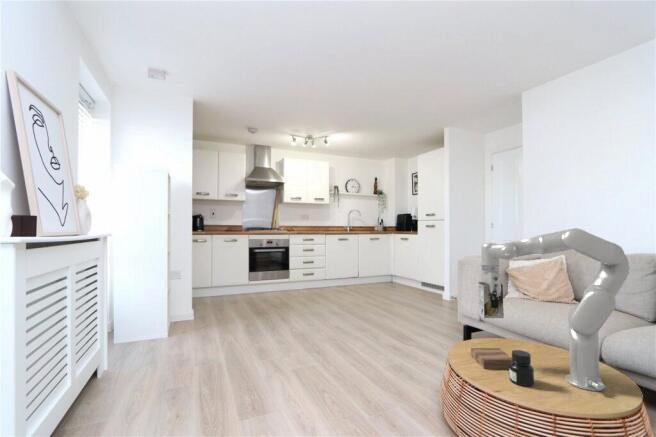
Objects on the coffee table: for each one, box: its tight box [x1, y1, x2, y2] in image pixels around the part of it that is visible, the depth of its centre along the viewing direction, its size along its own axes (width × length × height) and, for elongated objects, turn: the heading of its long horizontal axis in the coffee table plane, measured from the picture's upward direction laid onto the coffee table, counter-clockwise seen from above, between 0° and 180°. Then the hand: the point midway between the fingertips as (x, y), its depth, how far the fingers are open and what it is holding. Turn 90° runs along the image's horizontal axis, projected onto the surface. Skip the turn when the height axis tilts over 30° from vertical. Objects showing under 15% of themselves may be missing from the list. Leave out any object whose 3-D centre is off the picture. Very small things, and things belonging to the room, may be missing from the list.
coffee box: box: [478, 281, 505, 319], centre depth 152 cm, size 9×6×16 cm
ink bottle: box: [508, 349, 535, 388], centre depth 132 cm, size 10×9×12 cm
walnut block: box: [470, 347, 512, 370], centre depth 151 cm, size 14×14×4 cm
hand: (491, 305), depth 152 cm, fingers closed on coffee box, 6 cm apart
